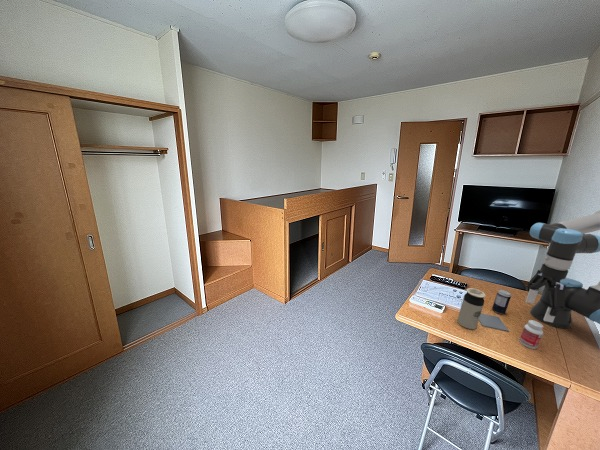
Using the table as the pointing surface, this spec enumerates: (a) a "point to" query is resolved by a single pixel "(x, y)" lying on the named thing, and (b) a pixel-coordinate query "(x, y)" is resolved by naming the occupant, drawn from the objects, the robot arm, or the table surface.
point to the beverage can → (501, 301)
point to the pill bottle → (531, 334)
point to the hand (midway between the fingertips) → (538, 311)
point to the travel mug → (471, 308)
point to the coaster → (492, 322)
